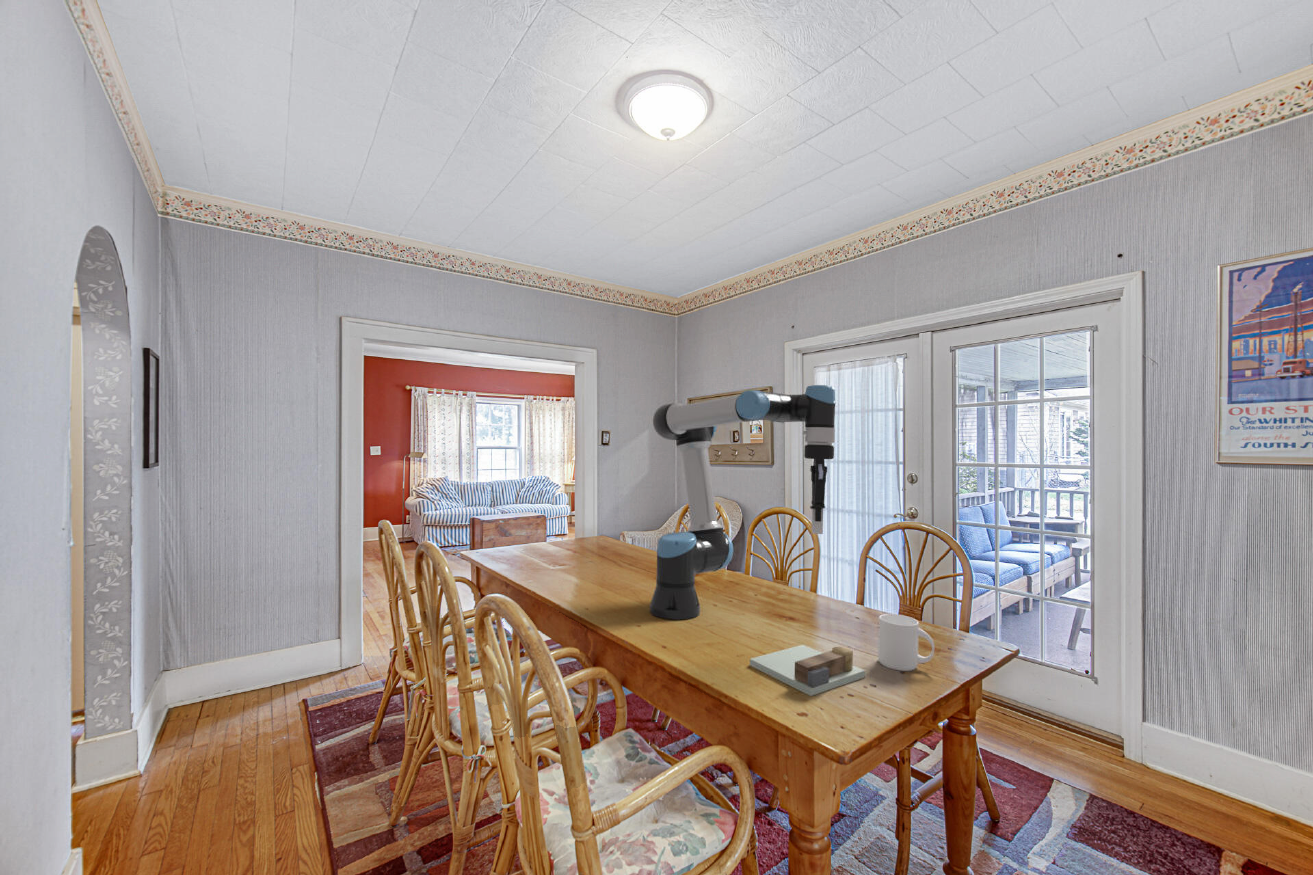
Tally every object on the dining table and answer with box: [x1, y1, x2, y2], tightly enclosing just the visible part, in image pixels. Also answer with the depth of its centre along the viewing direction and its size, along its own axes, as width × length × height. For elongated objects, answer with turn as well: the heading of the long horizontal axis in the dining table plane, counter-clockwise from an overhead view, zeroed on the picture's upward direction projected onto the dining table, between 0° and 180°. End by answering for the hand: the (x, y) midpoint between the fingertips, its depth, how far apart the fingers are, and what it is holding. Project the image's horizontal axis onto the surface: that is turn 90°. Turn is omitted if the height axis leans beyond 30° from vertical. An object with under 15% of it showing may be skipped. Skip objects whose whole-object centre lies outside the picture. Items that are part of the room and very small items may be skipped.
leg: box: [794, 646, 854, 684], centre depth 121 cm, size 16×4×4 cm, turn 125°
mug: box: [877, 613, 935, 672], centre depth 130 cm, size 9×12×11 cm
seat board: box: [749, 644, 866, 697], centre depth 126 cm, size 18×18×2 cm
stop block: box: [807, 666, 829, 688], centre depth 115 cm, size 1×5×3 cm, turn 124°
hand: (817, 533), depth 145 cm, fingers closed
